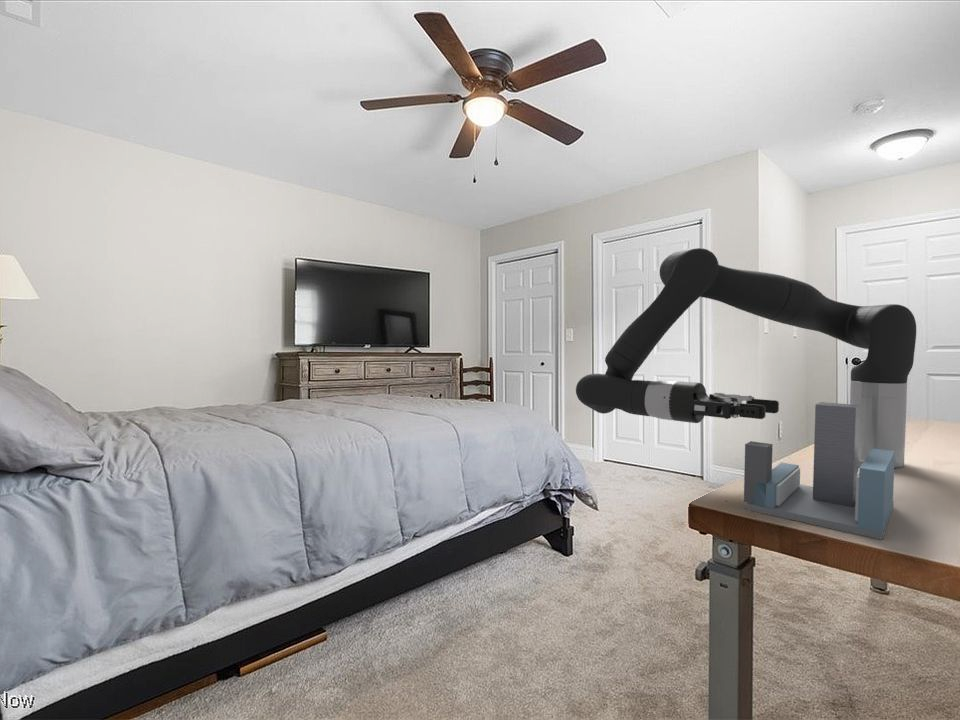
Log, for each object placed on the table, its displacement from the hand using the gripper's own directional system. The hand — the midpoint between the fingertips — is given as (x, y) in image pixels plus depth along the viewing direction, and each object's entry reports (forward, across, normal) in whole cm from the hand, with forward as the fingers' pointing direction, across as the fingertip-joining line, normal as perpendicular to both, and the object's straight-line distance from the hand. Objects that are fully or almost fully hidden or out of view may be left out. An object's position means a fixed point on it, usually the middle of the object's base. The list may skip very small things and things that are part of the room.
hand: (771, 409), depth 81 cm
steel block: (+9, 0, +13) cm, 16 cm away
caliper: (+9, +26, +15) cm, 31 cm away
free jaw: (+1, -3, +13) cm, 14 cm away
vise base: (+8, -2, +14) cm, 16 cm away
